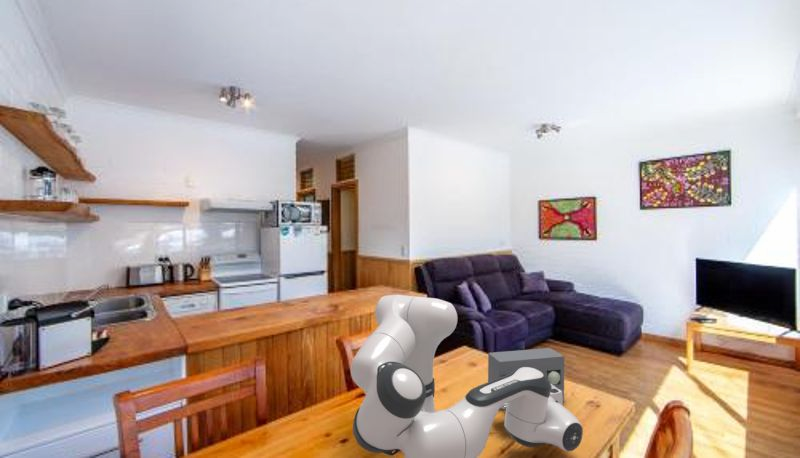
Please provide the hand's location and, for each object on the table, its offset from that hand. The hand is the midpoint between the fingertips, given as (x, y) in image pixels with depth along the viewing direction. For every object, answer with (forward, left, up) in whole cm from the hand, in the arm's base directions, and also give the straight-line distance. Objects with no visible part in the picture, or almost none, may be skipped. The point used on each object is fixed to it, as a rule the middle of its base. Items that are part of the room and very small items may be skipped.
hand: (511, 382), depth 114 cm
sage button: (+16, +1, -2) cm, 16 cm away
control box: (+8, +4, -9) cm, 13 cm away
